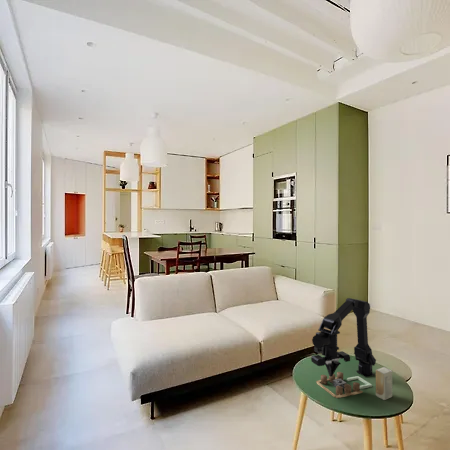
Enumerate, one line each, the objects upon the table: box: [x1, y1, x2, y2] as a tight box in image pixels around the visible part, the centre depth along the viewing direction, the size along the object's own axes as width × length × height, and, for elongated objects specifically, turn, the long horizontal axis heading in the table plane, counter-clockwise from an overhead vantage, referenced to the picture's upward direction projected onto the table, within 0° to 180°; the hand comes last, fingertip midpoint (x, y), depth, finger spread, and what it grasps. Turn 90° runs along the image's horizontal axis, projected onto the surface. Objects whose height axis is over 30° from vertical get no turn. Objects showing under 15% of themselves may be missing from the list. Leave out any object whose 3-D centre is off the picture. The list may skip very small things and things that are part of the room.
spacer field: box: [315, 371, 364, 399], centre depth 145 cm, size 16×15×4 cm
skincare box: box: [375, 366, 393, 401], centre depth 137 cm, size 6×4×12 cm
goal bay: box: [346, 375, 373, 390], centre depth 149 cm, size 7×9×1 cm
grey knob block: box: [332, 379, 348, 390], centre depth 145 cm, size 4×4×3 cm
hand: (330, 376), depth 143 cm, fingers closed
